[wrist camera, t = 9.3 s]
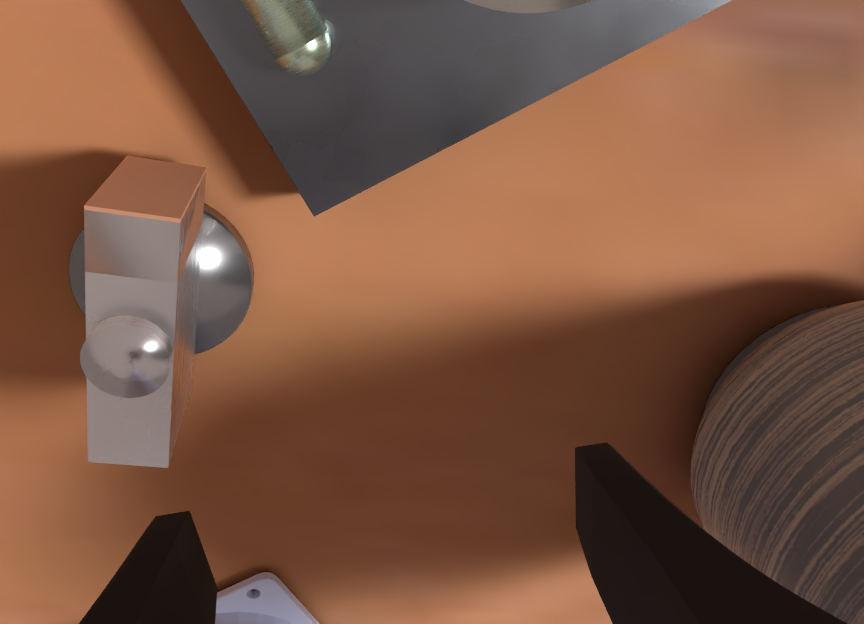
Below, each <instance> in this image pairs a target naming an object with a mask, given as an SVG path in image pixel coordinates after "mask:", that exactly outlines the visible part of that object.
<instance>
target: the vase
mask: <svg viewBox="0 0 864 624" xmlns="http://www.w3.org/2000/svg"><path fill="white" fill-rule="evenodd" d="M690 482H691V489H692V495H693V501H694V506H695V509H696V512H697V515H698V517H699V519H700V521H701V524H702V526H703V528H704V530H705V531H706V532H707V533H709V534H710V535H711V536H713V537H714V538H715V539H717V540H718V541H719V542H720V543H722V544H723V545H724V546H726V547H727V548H728V549H729V550H731V551H732V552H734V553H735V554H736V555H738V556H739V557H740V558H742V559H743V560H745V561H746V562H747V563H749V564H750V565H752V566H753V567H754V568H756V569H757V570H759V571H760V572H762V573H763V574H765V575H766V576H768V577H769V578H771V579H772V580H774V581H775V582H777V583H778V584H780V585H782V586H783V587H785V588H786V589H788V590H790V591H791V592H793V593H795V594H796V595H798V596H800V597H801V598H803V599H805V600H807V601H808V602H810V603H812V604H814V605H815V606H817V607H819V608H821V609H822V610H824V611H826V612H828V613H830V614H831V615H833V616H835V617H837V618H838V619H840V620H842V621H844V622H846V623H848V624H864V300H863V301H857V302H851V303H846V304H842V305H837V306H831V307H825V308H820V309H816V310H812V311H809V312H806V313H803V314H800V315H797V316H795V317H793V318H791V319H789V320H786V321H784V322H782V323H780V324H778V325H776V326H775V327H773V328H772V329H770V330H768V331H767V332H765V333H764V334H762V335H761V336H759V337H758V338H756V339H755V340H754V341H753V342H752V343H750V344H749V345H748V346H747V347H746V348H745V349H743V350H742V351H741V352H740V353H739V354H738V355H737V356H736V357H735V359H734V360H733V361H732V362H731V363H730V364H729V365H728V366H727V367H726V369H725V370H724V372H723V373H722V375H721V376H720V378H719V379H718V381H717V382H716V383H715V385H714V387H713V389H712V392H711V394H710V396H709V398H708V400H707V403H706V406H705V410H704V414H703V417H702V420H701V422H700V424H699V427H698V431H697V434H696V438H695V442H694V445H693V449H692V457H691V472H690Z"/></svg>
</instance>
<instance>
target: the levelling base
mask: <svg viewBox="0 0 864 624" xmlns="http://www.w3.org/2000/svg"><path fill="white" fill-rule="evenodd" d="M729 1H731V0H181V2H182V4H183V5H184V7H185V9H186V10H187V12H188V13H189V15H190V17H191V18H192V20H193V21H194V23H195V25H196V26H197V28H198V30H199V31H200V33H201V34H202V36H203V38H204V39H205V41H206V42H207V44H208V46H209V47H210V49H211V51H212V52H213V54H214V55H215V57H216V59H217V60H218V62H219V64H220V65H221V67H222V68H223V70H224V72H225V73H226V75H227V76H228V78H229V80H230V81H231V83H232V85H233V86H234V88H235V89H236V91H237V93H238V94H239V96H240V97H241V99H242V101H243V102H244V104H245V106H246V107H247V109H248V110H249V112H250V114H251V115H252V117H253V118H254V120H255V122H256V123H257V125H258V127H259V128H260V130H261V131H262V133H263V135H264V136H265V138H266V140H267V141H268V143H269V144H270V146H271V148H272V149H273V151H274V152H275V154H276V156H277V157H278V159H279V161H280V162H281V164H282V165H283V167H284V169H285V170H286V172H287V173H288V175H289V177H290V178H291V180H292V182H293V183H294V185H295V186H296V188H297V190H298V191H299V193H300V194H301V196H302V198H303V199H304V201H305V203H306V204H307V206H308V207H309V209H310V211H311V212H312V214H313V215H314V216H316V215H318V214H320V213H322V212H324V211H326V210H328V209H329V208H331V207H333V206H335V205H337V204H339V203H341V202H343V201H345V200H347V199H349V198H351V197H353V196H355V195H357V194H358V193H360V192H362V191H364V190H366V189H368V188H370V187H372V186H374V185H376V184H378V183H380V182H382V181H384V180H386V179H387V178H389V177H391V176H393V175H395V174H397V173H399V172H401V171H403V170H405V169H407V168H409V167H411V166H413V165H414V164H416V163H418V162H420V161H422V160H424V159H426V158H428V157H430V156H432V155H434V154H436V153H438V152H440V151H442V150H443V149H445V148H447V147H449V146H451V145H453V144H455V143H457V142H459V141H461V140H463V139H465V138H467V137H469V136H471V135H472V134H474V133H476V132H478V131H480V130H482V129H484V128H486V127H488V126H490V125H492V124H494V123H496V122H498V121H499V120H501V119H503V118H505V117H507V116H509V115H511V114H513V113H515V112H517V111H519V110H521V109H523V108H525V107H527V106H528V105H530V104H532V103H534V102H536V101H538V100H540V99H542V98H544V97H546V96H548V95H550V94H552V93H554V92H556V91H557V90H559V89H561V88H563V87H565V86H567V85H569V84H571V83H573V82H575V81H577V80H579V79H581V78H583V77H584V76H586V75H588V74H590V73H592V72H594V71H596V70H598V69H600V68H602V67H604V66H606V65H608V64H610V63H612V62H613V61H615V60H617V59H619V58H621V57H623V56H625V55H627V54H629V53H631V52H633V51H635V50H637V49H639V48H640V47H642V46H644V45H646V44H648V43H650V42H652V41H654V40H656V39H658V38H660V37H662V36H664V35H666V34H668V33H669V32H671V31H673V30H675V29H677V28H679V27H681V26H683V25H685V24H687V23H689V22H691V21H693V20H695V19H697V18H698V17H700V16H702V15H704V14H706V13H708V12H710V11H712V10H714V9H716V8H718V7H720V6H722V5H724V4H725V3H727V2H729Z"/></svg>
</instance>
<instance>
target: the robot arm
mask: <svg viewBox="0 0 864 624" xmlns="http://www.w3.org/2000/svg"><path fill="white" fill-rule="evenodd" d="M575 481H576V529H577V532H578V535H579V538H580V542H581V545H582V548H583V551H584V554H585V557H586V561H587V564H588V567H589V570H590V573H591V576H592V578H593V581H594V583H595V585H596V587H597V590H598V592H599V594H600V596H601V599H602V601H603V603H604V605H605V607H606V610H607V612H608V614H609V616H610V618H611V621H612V623H613V624H848V623H846V622H844V621H842V620H840V619H838V618H837V617H835V616H833V615H831V614H830V613H828V612H826V611H824V610H822V609H821V608H819V607H817V606H815V605H814V604H812V603H810V602H808V601H807V600H805V599H803V598H801V597H800V596H798V595H796V594H795V593H793V592H791V591H790V590H788V589H786V588H785V587H783V586H782V585H780V584H778V583H777V582H775V581H774V580H772V579H771V578H769V577H768V576H766V575H765V574H763V573H762V572H760V571H759V570H757V569H756V568H754V567H753V566H752V565H750V564H749V563H747V562H746V561H745V560H743V559H742V558H740V557H739V556H738V555H736V554H735V553H734V552H732V551H731V550H729V549H728V548H727V547H726V546H724V545H723V544H722V543H720V542H719V541H718V540H717V539H715V538H714V537H713V536H711V535H710V534H709V533H707V532H706V531H705V530H704V529H703V528H701V527H700V526H699V525H698V524H696V523H695V522H694V521H693V520H692V519H690V518H689V517H688V516H687V515H686V514H685V513H683V512H682V511H681V510H680V509H679V508H678V507H676V506H675V505H674V504H673V503H672V502H671V501H669V500H668V499H667V498H666V497H665V496H664V495H663V494H662V493H660V492H659V491H658V490H657V489H656V488H655V487H654V486H653V485H652V484H651V483H650V482H648V481H647V480H646V479H645V478H644V477H643V476H642V475H641V474H640V473H639V472H638V471H637V470H636V469H635V468H634V467H633V466H632V465H631V464H630V463H629V462H627V461H626V460H625V459H624V458H623V457H622V456H621V455H620V454H619V453H618V452H617V451H616V450H615V449H614V448H613V447H612V446H611V445H609V444H608V443H601V444H595V445H588V446H582V447H576V448H575ZM251 589H257V590H251ZM79 624H320V623H319V622H318V621H317V620H316V619H315V618H314V617H313V616H312V615H311V614H310V612H309V611H308V610H307V609H306V608H305V607H304V606H303V605H302V604H301V602H300V601H299V600H298V599H297V598H296V597H295V596H294V595H293V594H292V592H291V591H290V590H289V589H288V588H287V587H286V586H285V585H284V584H283V583H282V581H281V580H280V579H279V578H278V577H277V576H276V575H274V574H273V573H269V572H263V573H259V574H257V575H255V576H252V577H250V578H248V579H246V580H244V581H241V582H239V583H237V584H235V585H233V586H231V587H228V588H226V589H224V590H222V591H220V592H217V586H216V583H215V580H214V578H213V575H212V572H211V569H210V566H209V564H208V561H207V558H206V555H205V553H204V550H203V547H202V544H201V541H200V539H199V536H198V533H197V530H196V528H195V525H194V522H193V519H192V516H191V514H190V511H186V512H180V513H173V514H167V515H161V516H156V517H155V518H154V519H153V521H152V522H151V523H150V525H149V526H148V528H147V529H146V530H145V532H144V533H143V535H142V536H141V538H140V539H139V541H138V542H137V543H136V545H135V546H134V548H133V549H132V551H131V552H130V554H129V555H128V556H127V558H126V559H125V561H124V562H123V564H122V565H121V567H120V568H119V569H118V571H117V572H116V574H115V575H114V577H113V578H112V579H111V581H110V582H109V584H108V585H107V586H106V588H105V589H104V590H103V592H102V593H101V595H100V596H99V597H98V599H97V600H96V601H95V603H94V604H93V605H92V607H91V608H90V610H89V611H88V612H87V614H86V615H85V616H84V618H83V619H82V620H81V622H80V623H79Z"/></svg>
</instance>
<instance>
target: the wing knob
mask: <svg viewBox="0 0 864 624" xmlns="http://www.w3.org/2000/svg"><path fill="white" fill-rule="evenodd" d="M205 177H206V168H205V167H198V166H192V165H185V164H179V163H172V162H166V161H159V160H153V159H146V158H140V157H133V156H126V157H125V159H124V160H123V161H122V162H121V163H120V164H119V165H118V167H117V168H116V169H115V170H114V171H113V172H112V174H111V175H110V176H109V177H108V178H107V179H106V180H105V182H104V183H103V184H102V185H101V186H100V187H99V189H98V190H97V191H96V192H95V193H94V194H93V196H92V197H91V198H90V199H89V200H88V201H87V202H86V204H85V205H84V229H83V230H82V231H81V233H80V234H79V236H78V238H77V239H76V241H75V244H74V246H73V249H72V251H71V256H70V261H69V278H70V284H71V288H72V292H73V295H74V297H75V299H76V302H77V304H78V305H79V307H80V309H81V311H82V312H83V314H84V315H85V316H86V340H85V342H84V344H83V346H82V348H81V352H80V364H81V368H82V370H83V372H84V374H85V376H86V377H87V442H88V462H93V463H107V464H121V465H134V466H148V467H161V468H168V467H169V464H170V461H171V457H172V454H173V451H174V447H175V444H176V440H177V437H178V434H179V430H180V427H181V424H182V420H183V417H184V413H185V410H186V407H187V403H188V400H189V397H190V393H191V390H192V383H193V367H194V354H197V353H201V352H204V351H206V350H209V349H211V348H213V347H215V346H216V345H218V344H220V343H222V342H223V341H224V340H225V339H227V338H228V337H229V336H230V335H231V334H232V333H233V332H234V331H235V330H236V329H237V328H238V326H239V325H240V324H241V322H242V321H243V319H244V317H245V315H246V313H247V310H248V307H249V304H250V300H251V295H252V290H253V285H254V270H253V263H252V259H251V255H250V252H249V250H248V248H247V245H246V243H245V242H244V240H243V238H242V237H241V235H240V234H239V232H238V231H237V230H236V228H235V227H234V226H233V225H232V224H231V223H230V222H229V221H228V220H227V219H226V218H225V217H224V216H223V215H221V214H220V213H219V212H218V211H216V210H215V209H213V208H211V207H210V206H208V205H207V204H205V203H204V193H205Z"/></svg>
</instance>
